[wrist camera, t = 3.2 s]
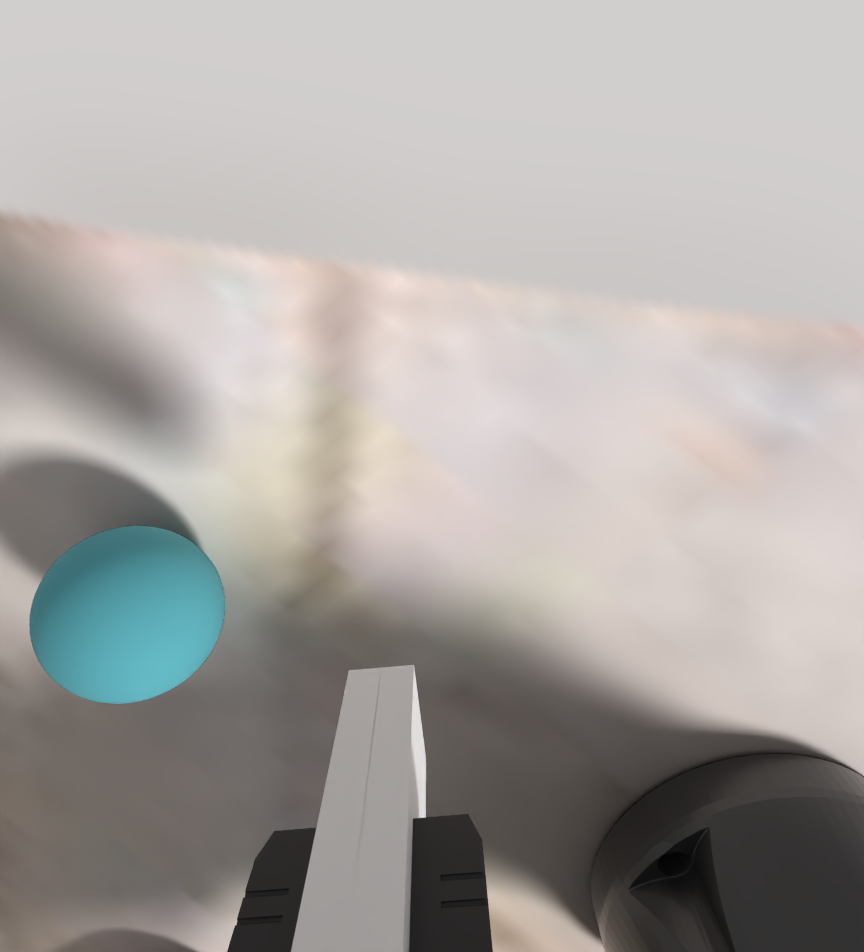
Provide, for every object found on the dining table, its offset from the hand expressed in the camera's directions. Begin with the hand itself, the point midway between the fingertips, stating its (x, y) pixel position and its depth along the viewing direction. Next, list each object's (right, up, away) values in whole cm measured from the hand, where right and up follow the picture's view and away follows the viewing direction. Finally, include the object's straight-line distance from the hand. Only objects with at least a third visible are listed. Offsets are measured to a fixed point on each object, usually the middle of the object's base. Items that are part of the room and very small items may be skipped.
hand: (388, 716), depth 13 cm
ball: (-9, +1, +7) cm, 12 cm away
